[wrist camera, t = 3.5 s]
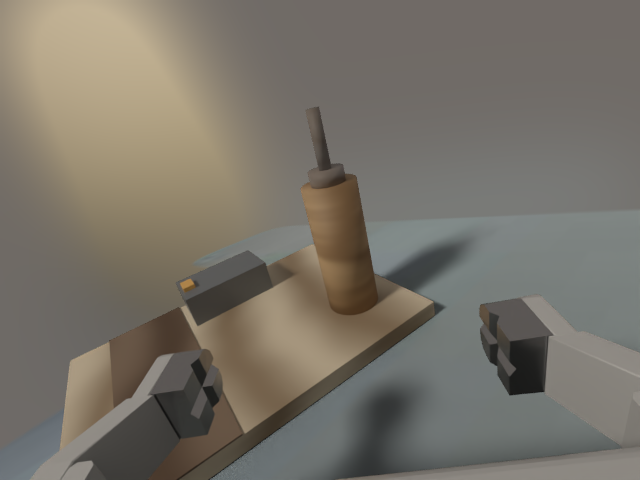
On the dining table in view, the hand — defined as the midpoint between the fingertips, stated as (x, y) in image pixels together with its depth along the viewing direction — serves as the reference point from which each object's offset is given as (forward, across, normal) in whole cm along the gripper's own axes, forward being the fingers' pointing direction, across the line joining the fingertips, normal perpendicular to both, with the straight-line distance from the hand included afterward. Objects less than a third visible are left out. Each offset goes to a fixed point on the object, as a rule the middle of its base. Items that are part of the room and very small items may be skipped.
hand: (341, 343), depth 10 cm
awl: (+11, 0, +6) cm, 12 cm away
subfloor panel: (+9, +8, +7) cm, 14 cm away
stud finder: (+14, +10, +6) cm, 18 cm away
